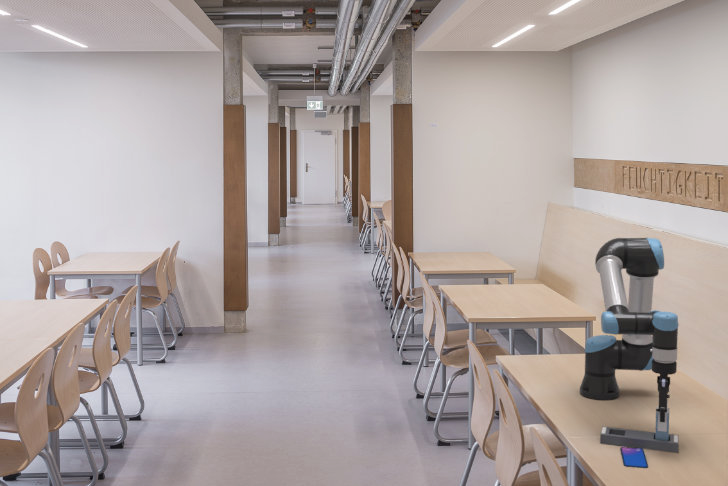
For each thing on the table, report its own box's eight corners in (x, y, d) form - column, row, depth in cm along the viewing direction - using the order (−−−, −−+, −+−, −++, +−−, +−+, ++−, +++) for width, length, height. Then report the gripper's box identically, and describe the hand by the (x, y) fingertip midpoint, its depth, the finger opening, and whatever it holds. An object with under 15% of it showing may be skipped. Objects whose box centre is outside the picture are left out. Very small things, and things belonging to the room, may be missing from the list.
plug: (655, 443, 251) (656, 406, 249) (668, 444, 249) (669, 407, 248) (655, 447, 247) (656, 410, 245) (668, 449, 245) (669, 411, 244)
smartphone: (623, 465, 233) (619, 446, 247) (623, 468, 233) (619, 449, 247) (648, 467, 231) (643, 448, 245) (648, 470, 231) (643, 450, 245)
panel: (602, 434, 259) (602, 425, 258) (678, 443, 250) (678, 434, 249) (600, 443, 251) (600, 433, 251) (678, 452, 242) (678, 443, 242)
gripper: (652, 349, 257) (651, 410, 260) (650, 369, 235) (648, 435, 237) (676, 351, 254) (674, 413, 257) (676, 371, 232) (674, 438, 234)
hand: (662, 424), depth 247 cm, fingers open, 12 cm apart
